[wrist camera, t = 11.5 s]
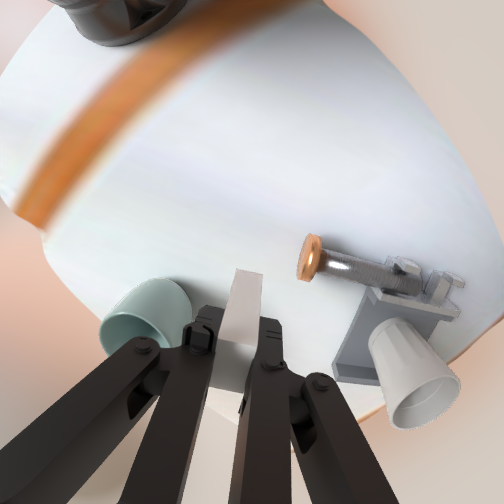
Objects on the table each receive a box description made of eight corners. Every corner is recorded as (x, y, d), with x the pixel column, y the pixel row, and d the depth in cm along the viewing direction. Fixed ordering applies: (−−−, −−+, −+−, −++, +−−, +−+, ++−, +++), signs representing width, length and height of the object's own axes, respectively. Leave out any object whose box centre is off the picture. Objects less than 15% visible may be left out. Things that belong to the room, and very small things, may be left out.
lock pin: (295, 269, 29) (299, 287, 25) (307, 228, 28) (314, 240, 24) (400, 295, 30) (416, 313, 25) (415, 260, 28) (433, 275, 24)
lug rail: (382, 247, 29) (398, 261, 25) (456, 271, 30) (475, 285, 25) (368, 284, 31) (381, 302, 26) (442, 302, 31) (459, 319, 27)
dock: (368, 284, 31) (377, 297, 28) (442, 302, 31) (454, 314, 28) (331, 364, 35) (335, 381, 31) (403, 373, 35) (410, 388, 32)
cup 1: (211, 311, 33) (191, 367, 24) (163, 335, 35) (134, 387, 25) (173, 257, 31) (136, 298, 22) (126, 286, 33) (84, 329, 23)
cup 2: (415, 301, 30) (463, 361, 19) (420, 347, 32) (457, 408, 21) (356, 326, 32) (386, 399, 20) (367, 370, 34) (392, 439, 22)
